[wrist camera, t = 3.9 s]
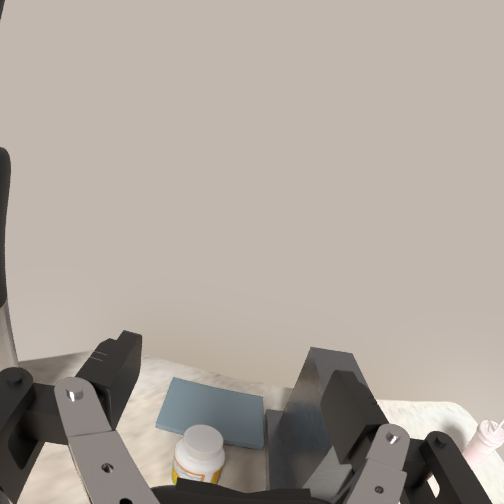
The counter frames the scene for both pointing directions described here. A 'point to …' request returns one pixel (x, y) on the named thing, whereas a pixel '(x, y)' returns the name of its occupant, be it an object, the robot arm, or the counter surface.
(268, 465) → the mounted unit
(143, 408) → the counter surface
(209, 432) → the supplement bottle
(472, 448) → the smoothie
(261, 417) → the mat
